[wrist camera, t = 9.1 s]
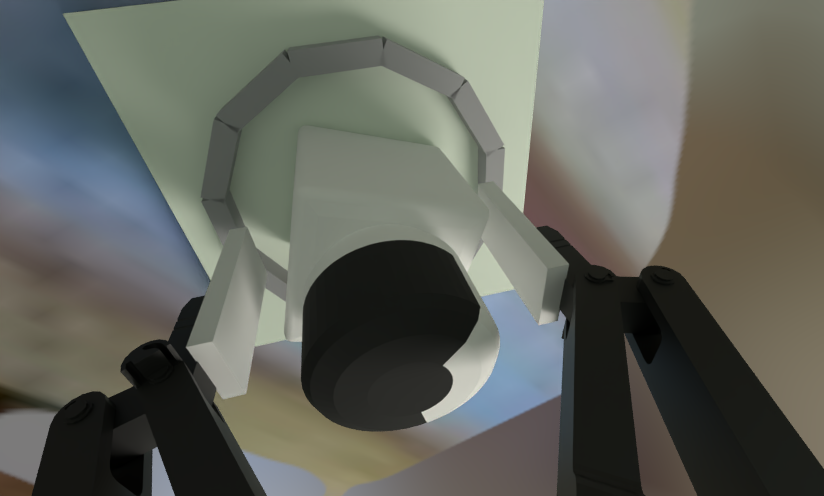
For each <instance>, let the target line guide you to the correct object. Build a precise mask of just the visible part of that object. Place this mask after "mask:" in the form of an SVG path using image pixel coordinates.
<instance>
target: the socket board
mask: <svg viewBox="0 0 824 496" xmlns="http://www.w3.org/2000/svg"><path fill="white" fill-rule="evenodd" d="M543 5H544V0H177V1H168V2H159V3H151V4H142V5H133V6H125V7H116V8H107V9H99V10H90V11H81V12H73V13H64V14H63V16H64V17H65V19H66V21H67V23H68V25H69V26H70V28H71V30H72V32H73V33H74V35H75V37H76V39H77V41H78V42H79V44H80V46H81V48H82V50H83V51H84V53H85V55H86V57H87V59H88V60H89V62H90V64H91V66H92V68H93V69H94V71H95V73H96V75H97V77H98V78H99V80H100V82H101V84H102V86H103V87H104V89H105V91H106V93H107V95H108V96H109V98H110V100H111V102H112V104H113V105H114V107H115V109H116V111H117V113H118V114H119V116H120V118H121V120H122V122H123V123H124V125H125V127H126V129H127V131H128V132H129V134H130V136H131V138H132V140H133V141H134V143H135V145H136V147H137V149H138V150H139V152H140V154H141V156H142V158H143V159H144V161H145V163H146V165H147V167H148V168H149V170H150V172H151V174H152V176H153V177H154V179H155V181H156V183H157V184H158V186H159V188H160V190H161V192H162V193H163V195H164V197H165V199H166V201H167V202H168V204H169V206H170V208H171V210H172V211H173V213H174V215H175V217H176V219H177V220H178V222H179V224H180V226H181V228H182V229H183V231H184V233H185V235H186V237H187V238H188V240H189V242H190V244H191V246H192V247H193V249H194V251H195V253H196V255H197V256H198V258H199V260H200V262H201V264H202V265H203V267H204V269H205V271H206V273H207V274H208V276H209V278H210V280H211V278H212V276H213V273H214V270H215V268H216V265H217V262H218V259H219V257H220V254H221V251H222V249H223V246H224V243H225V241H226V238H227V235H228V233H229V230H232V229H237V228H243V227H248V230H249V232H250V234H251V237H252V239H253V241H254V244H255V246H256V248H257V251H258V253H259V255H260V258H261V260H262V262H263V265H264V267H265V269H266V272H267V280H266V285H265V291H264V296H263V302H262V307H261V313H260V319H259V324H258V330H257V335H256V341H255V346H260V345H264V344H269V343H273V342H278V341H282V340H287V339H286V338H285V335H284V324H285V309H286V294H287V278H288V263H289V248H290V233H291V218H292V202H293V189H294V177H295V164H296V152H297V140H298V131H299V128H300V127H302V126H304V125H309V126H315V127H321V128H327V129H333V130H340V131H346V132H352V133H358V134H364V135H370V136H376V137H382V138H388V139H394V140H400V141H406V142H412V143H419V144H425V145H431V146H436V147H438V148H440V149H441V151H442V152H443V153H444V154H445V156H446V157H447V158H448V159H449V161H450V162H451V163H452V164H453V165H454V167H455V168H456V169H457V170H458V172H459V173H460V174H461V175H462V177H463V178H464V179H465V180H466V181H467V183H468V184H469V185H470V186H471V188H472V189H473V190H474V191H475V193H476V194H477V195H478V184H481V183H486V182H492V181H493V182H494V183H495V184H496V185H497V186H498V187H499V188H500V189H501V190H502V191H503V192H504V194H505V195H506V196H507V197H508V198H509V199H510V200H511V201H512V202H513V203H514V204H515V206H516V207H517V208H518V209H519V210H520V211H521V212H522V213H523V209H524V198H525V188H526V178H527V168H528V158H529V148H530V137H531V127H532V117H533V107H534V97H535V87H536V76H537V66H538V56H539V46H540V36H541V26H542V15H543ZM468 275H469V277H470V278H471V280H472V282H473V284H474V286H475V287H476V289H477V291H478V293H479V295H480V296H486V295H490V294H495V293H500V292H504V291H509V290H513V289H514V287H513V286H512V284H511V282H510V281H509V279H508V278H507V276H506V275H505V273H504V272H503V270H502V269H501V267H500V266H499V264H498V263H497V261H496V260H495V258H494V257H493V255H492V254H491V252H490V251H489V249H488V248H487V246H486V244H485V243H484V241H483V240H482V238H481V239H480V242H479V244H478V247H477V249H476V252H475V255H474V257H473V260H472V262H471V265H470V267H469V270H468ZM255 346H254V347H255Z"/></svg>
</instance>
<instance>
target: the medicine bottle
mask: <svg viewBox="0 0 824 496" xmlns="http://www.w3.org/2000/svg"><path fill="white" fill-rule="evenodd" d="M489 214H490V213H489V209H488V208H487V206H486V205H485V204H484V202H483V201H482V200H481V199H480V197H479V196H478V195H477V194H476V193H475V191H474V190H473V189H472V188H471V186H470V185H469V184H468V183H467V181H466V180H465V179H464V178H463V177H462V175H461V174H460V173H459V172H458V170H457V169H456V168H455V167H454V165H453V164H452V163H451V162H450V161H449V159H448V158H447V157H446V156H445V154H444V153H443V152H442V151H441V149H440V148H438V147H436V146H431V145H425V144H419V143H412V142H406V141H400V140H394V139H388V138H382V137H376V136H370V135H364V134H358V133H352V132H346V131H340V130H333V129H327V128H321V127H315V126H309V125H304V126H302V127H300V128H299V131H298V140H297V152H296V164H295V177H294V189H293V202H292V218H291V233H290V248H289V263H288V278H287V294H286V309H285V324H284V335H285V338H286V339H287V340H288V341H291V342H302V363H301V382H302V388H303V391H304V393H305V396H306V398H307V399H308V400H309V402H310V403H311V404H312V405H313V406H314V407H315V408H316V409H317V410H318V411H319V412H320V413H321V414H323V415H324V416H325V417H326V418H328V419H329V420H331V421H332V422H334V423H337V424H339V425H341V426H344V427H347V428H351V429H356V430H361V431H393V430H400V429H406V428H410V427H414V426H418V425H421V424H424V423H427V422H430V421H432V420H435V419H437V418H440V417H442V416H444V415H446V414H448V413H450V412H451V411H453V410H455V409H456V408H458V407H459V406H461V405H462V404H464V403H465V402H466V401H468V400H469V399H470V398H471V397H472V396H474V395H475V394H476V393H477V392H478V391H479V390H480V389H481V387H482V386H483V385H484V384H485V382H486V381H487V380H488V378H489V376H490V374H491V373H492V370H493V368H494V365H495V362H496V359H497V356H498V352H499V347H500V336H499V332H498V328H497V326H496V324H495V322H494V320H493V318H492V316H491V314H490V313H489V311H488V309H487V307H486V305H485V304H484V302H483V300H482V298H481V296H480V295H479V293H478V291H477V289H476V287H475V286H474V284H473V282H472V280H471V278H470V277H469V275H468V270H469V267H470V265H471V262H472V260H473V257H474V255H475V252H476V249H477V247H478V244H479V242H480V239H481V237H482V234H483V231H484V229H485V226H486V224H487V221H488V219H489Z"/></svg>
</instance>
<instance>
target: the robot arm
mask: <svg viewBox="0 0 824 496" xmlns="http://www.w3.org/2000/svg"><path fill="white" fill-rule="evenodd" d="M478 196H479V197H480V199H481V200H482V201H483V202H484V204H485V205H486V206H487V208H488V209H489V213H490V214H489V219H488V221H487V224H486V226H485V229H484V231H483V234H482V237H481V238H482V240H483V241H484V243H485V244H486V246H487V248H488V249H489V251H490V252H491V254H492V255H493V257H494V258H495V260H496V261H497V263H498V264H499V266H500V267H501V269H502V270H503V272H504V273H505V275H506V276H507V278H508V279H509V281H510V282H511V284H512V286H513V287H514V289H515V290H516V292H517V293H518V295H519V296H520V298H521V299H522V301H523V302H524V304H525V305H526V307H527V308H528V310H529V311H530V313H531V314H532V316H533V317H534V319H535V320H536V322H537V323H538V325H542V324H546V323H550V322H555V321H558V316H559V312H560V310H561V311H562V313H563V314H564V315H565V317H566V321H565V325H564V330H563V334H562V339H564V349H563V371H562V393H561V416H560V436H559V458H558V479H557V480H558V482H557V496H645V495H644V494H643V491H642V487H641V481H640V473H639V465H638V464H639V463H638V455H637V447H636V438H635V428H634V419H633V411H632V402H631V393H630V385H629V375H628V366H627V358H626V349H625V340H624V333H625V336H626V338H627V340H628V342H629V345H630V347H631V349H632V351H633V353H634V356H635V358H636V360H637V362H638V365H639V367H640V369H641V371H642V373H643V376H644V378H645V380H646V382H647V385H648V387H649V389H650V391H651V393H652V396H653V398H654V400H655V402H656V404H657V407H658V409H659V411H660V413H661V416H662V418H663V420H664V422H665V425H666V427H667V429H668V431H669V433H670V436H671V438H672V440H673V442H674V445H675V447H676V449H677V451H678V453H679V456H680V458H681V460H682V462H683V464H684V467H685V469H686V471H687V473H688V476H689V478H690V480H691V482H692V485H693V487H694V489H695V491H696V493H697V496H824V469H823V467H822V466H821V465H820V463H819V462H818V460H817V459H816V458H815V456H814V455H813V453H812V452H811V451H810V449H809V448H808V447H807V445H806V444H805V443H804V441H803V440H802V438H801V437H800V436H799V434H798V433H797V432H796V430H795V429H794V428H793V426H792V425H791V424H790V422H789V421H788V419H787V418H786V417H785V415H784V414H783V412H782V411H781V410H780V409H779V407H778V406H777V404H776V403H775V401H774V400H773V399H772V397H771V396H770V395H769V393H768V392H767V391H766V389H765V388H764V386H763V385H762V384H761V382H760V381H759V379H758V378H757V377H756V376H755V374H754V373H753V371H752V370H751V369H750V367H749V366H748V364H747V363H746V362H745V360H744V359H743V358H742V356H741V355H740V353H739V352H738V351H737V349H736V348H735V347H734V345H733V344H732V342H731V341H730V340H729V338H728V337H727V336H726V334H725V333H724V331H722V329H721V327H720V326H719V325H718V323H717V322H716V321H715V319H714V318H713V316H712V315H711V314H710V312H709V311H708V310H707V308H706V307H705V305H704V304H703V303H702V302H701V300H700V299H699V297H698V296H697V295H696V293H695V292H694V290H693V289H692V288H691V286H690V285H689V284H688V282H687V281H686V279H685V278H684V277H683V276H682V275H681V274H680V273H678V272H676V271H674V270H673V269H670V268H667V267H663V266H647V267H646V268H644V269H642V271H641V273H640V276H639V277H618V276H616V275H615V274H614V273H613V272H612V271H611V270H609V269H607V268H604V267H601V266H597V265H591V264H590V263H589V262H588V261H587V260H586V259H585V258H584V257H583V256H582V255H581V254H580V253H579V252H578V251H577V250H576V249H575V248H574V247H573V246H571V245H570V243H569V242H568V241H567V240H565V238H564V237H563V236H562V235H561V234H560V233H559V232H558V231H556V230H554V229H552V228H550V227H548V226H542V227H537V228H536V227H535V226H534V225H533V224H532V223H531V222H530V221H529V220H528V219H527V218H526V216H525V215H524V214H523V213H522V212H521V211H520V210H519V209H518V208H517V207H516V206H515V204H514V203H513V202H512V201H511V200H510V199H509V198H508V197H507V196H506V195H505V194H504V192H503V191H502V190H501V189H500V188H499V187H498V186H497V185H496V184H495V183H494V182H493V181H492V182H486V183H481V184H478ZM266 280H267V272H266V269H265V267H264V265H263V262H262V260H261V258H260V255H259V253H258V251H257V248H256V246H255V244H254V241H253V239H252V237H251V234H250V232H249V230H248V227H243V228H237V229H232V230H229V233H228V235H227V238H226V241H225V243H224V246H223V249H222V251H221V254H220V257H219V259H218V262H217V265H216V268H215V270H214V273H213V276H212V278H211V281H210V284H209V286H208V289H207V292H206V294H205V296H201V297H196V298H192V299H191V300H190V301H189V302H188V303H187V304H186V305H185V306H184V307H183V308H182V310H181V313H180V315H179V317H178V322H176V324H175V327H174V331H172V334H171V336H170V338H169V341H166V340H160V339H159V340H153V341H150V342H147V343H145V344H143V345H141V346H139V347H138V348H136V349H135V350H133V351H132V352H131V353H130V354H129V355H128V356H127V357H126V358H125V359H124V361H123V363H122V364H121V373H122V374H123V375H124V376H125V377H126V378H127V379H128V380H129V381H130V383H131V384H132V385H133V387H131V388H129V389H127V390H125V391H123V392H120V393H118V394H116V395H114V396H112V397H109V398H108V397H107V396H106V395H104V394H103V393H101V392H89V393H86V394H82V395H81V396H79V397H77V398H75V399H73V400H71V401H70V402H69V403H68V404H66V405H65V406H64V407H63V408H62V409H61V410H60V411H59V412H58V413H57V414H56V415H55V416H54V419H53V421H52V423H51V425H50V428H49V432H48V436H47V439H46V444H45V447H44V451H43V455H42V458H41V462H40V466H39V470H38V473H37V477H36V481H35V485H34V489H33V492H32V496H152V449H154V448H155V447H158V449H159V453H160V455H161V458H162V461H163V464H164V466H165V469H166V472H167V475H168V478H169V480H170V483H171V486H172V489H173V491H174V494H175V496H267V495H266V493H265V492H264V490H263V488H262V486H261V484H260V482H259V481H258V479H257V477H256V475H255V474H254V472H253V470H252V468H251V466H250V465H249V463H248V461H247V459H246V457H245V456H244V454H243V452H242V450H241V448H240V447H239V445H238V443H237V441H236V439H235V438H234V436H233V434H232V432H231V431H230V429H229V427H228V425H227V423H226V422H225V420H224V418H223V416H222V414H221V413H220V411H219V409H218V407H217V406H216V404H215V403H214V402H213V400H214V396H215V392H216V390H217V392H218V393H219V394H220V396H221V397H222V399H226V398H231V397H235V396H239V395H243V394H246V391H247V385H248V380H249V374H250V369H251V363H252V358H253V352H254V346H255V341H256V335H257V330H258V324H259V319H260V313H261V307H262V302H263V296H264V291H265V285H266Z"/></svg>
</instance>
